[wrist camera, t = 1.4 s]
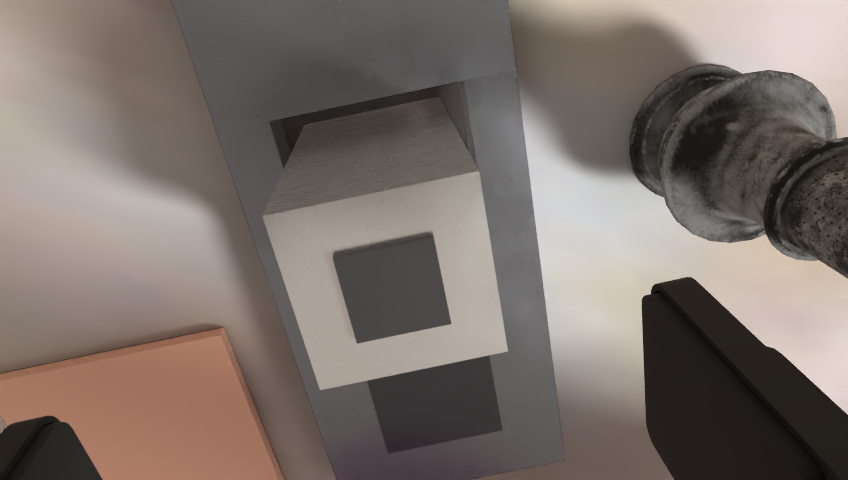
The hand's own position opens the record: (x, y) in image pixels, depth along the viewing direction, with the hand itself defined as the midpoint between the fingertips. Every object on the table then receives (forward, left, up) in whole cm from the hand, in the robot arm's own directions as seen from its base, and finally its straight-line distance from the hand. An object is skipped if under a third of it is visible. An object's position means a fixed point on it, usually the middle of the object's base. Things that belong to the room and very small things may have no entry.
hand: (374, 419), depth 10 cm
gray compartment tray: (-2, 0, -14) cm, 14 cm away
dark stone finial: (-1, -12, -14) cm, 19 cm away
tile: (-10, +13, -14) cm, 22 cm away
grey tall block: (0, 0, -14) cm, 14 cm away
